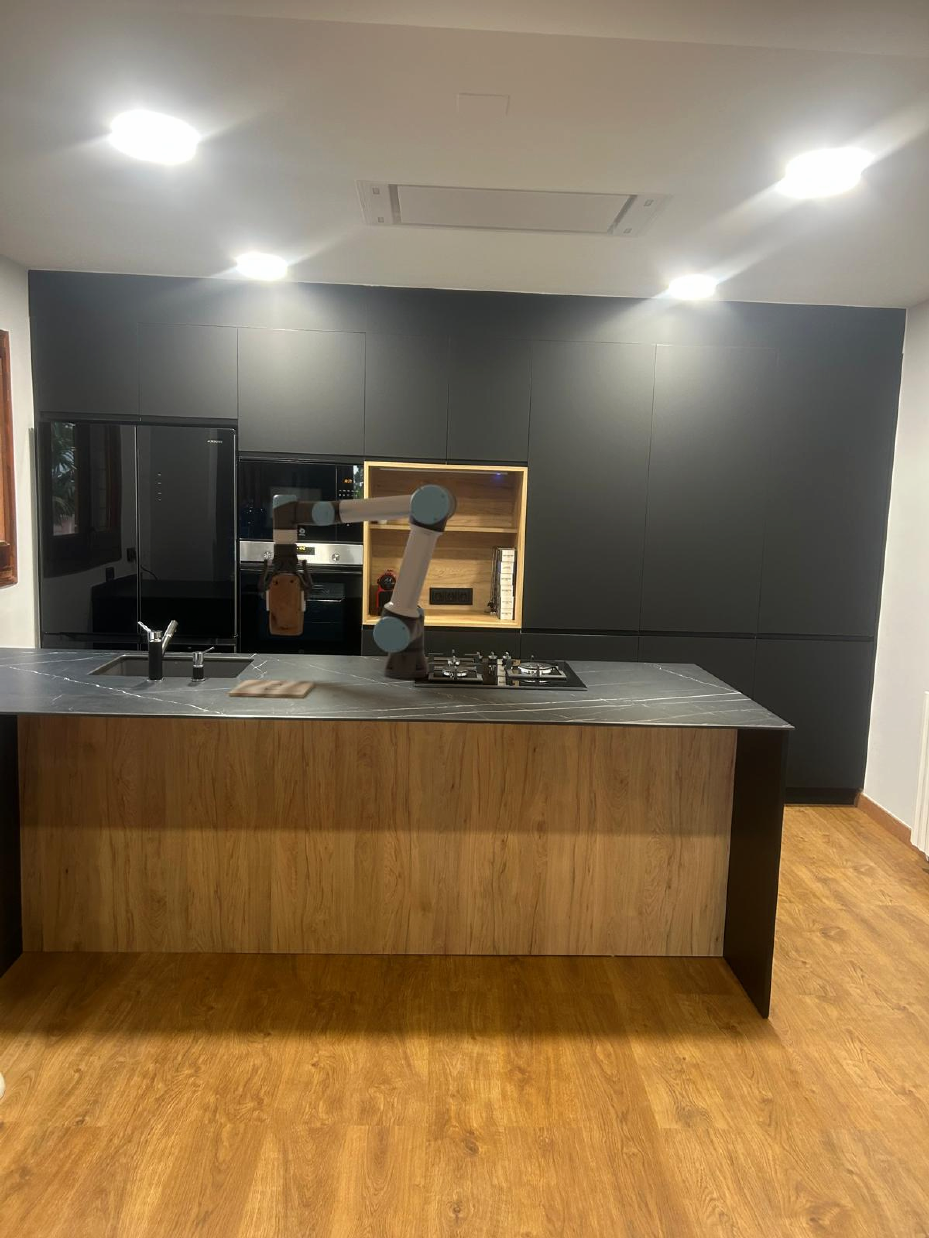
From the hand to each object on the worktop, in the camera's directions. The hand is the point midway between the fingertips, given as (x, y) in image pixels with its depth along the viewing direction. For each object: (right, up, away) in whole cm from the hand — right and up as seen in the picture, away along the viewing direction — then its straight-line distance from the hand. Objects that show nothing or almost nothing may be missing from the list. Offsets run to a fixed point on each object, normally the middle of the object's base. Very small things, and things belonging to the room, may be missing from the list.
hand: (286, 610), depth 275 cm
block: (0, -8, +1) cm, 8 cm away
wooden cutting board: (0, -25, -18) cm, 30 cm away
